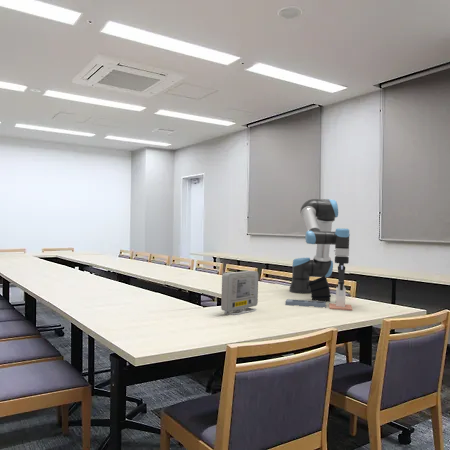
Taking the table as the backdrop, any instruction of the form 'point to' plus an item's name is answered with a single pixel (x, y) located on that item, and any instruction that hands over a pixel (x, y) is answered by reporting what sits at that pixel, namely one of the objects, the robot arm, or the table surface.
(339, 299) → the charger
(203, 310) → the table surface
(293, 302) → the power strip
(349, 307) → the mat
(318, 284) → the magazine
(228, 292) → the network device
